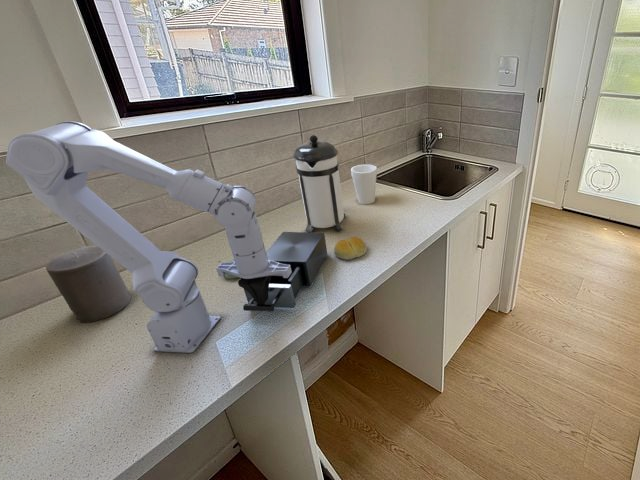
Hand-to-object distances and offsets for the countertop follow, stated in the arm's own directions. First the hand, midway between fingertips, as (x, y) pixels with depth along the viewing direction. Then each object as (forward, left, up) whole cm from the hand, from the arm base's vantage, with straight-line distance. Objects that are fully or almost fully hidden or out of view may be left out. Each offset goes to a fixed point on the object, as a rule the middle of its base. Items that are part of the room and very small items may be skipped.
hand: (263, 301), depth 72 cm
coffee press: (+43, +1, -5) cm, 44 cm away
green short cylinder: (+15, +16, -5) cm, 23 cm away
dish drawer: (+6, 0, -4) cm, 7 cm away
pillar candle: (+1, +39, -5) cm, 39 cm away
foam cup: (+61, -9, -5) cm, 62 cm away
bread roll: (+26, -12, -5) cm, 29 cm away
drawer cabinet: (+17, 0, -5) cm, 18 cm away
